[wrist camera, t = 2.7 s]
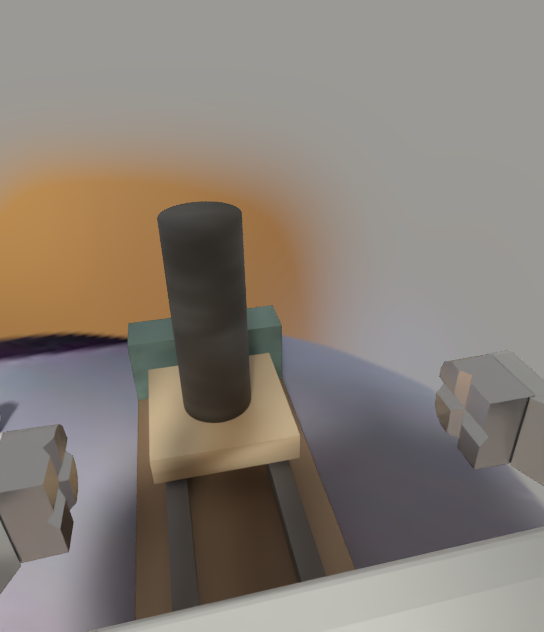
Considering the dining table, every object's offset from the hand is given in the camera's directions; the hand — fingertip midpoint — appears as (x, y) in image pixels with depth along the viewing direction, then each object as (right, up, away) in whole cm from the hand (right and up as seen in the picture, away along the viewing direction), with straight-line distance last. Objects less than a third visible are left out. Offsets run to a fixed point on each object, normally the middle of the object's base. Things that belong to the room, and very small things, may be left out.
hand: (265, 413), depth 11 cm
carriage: (-3, -4, +16) cm, 17 cm away
